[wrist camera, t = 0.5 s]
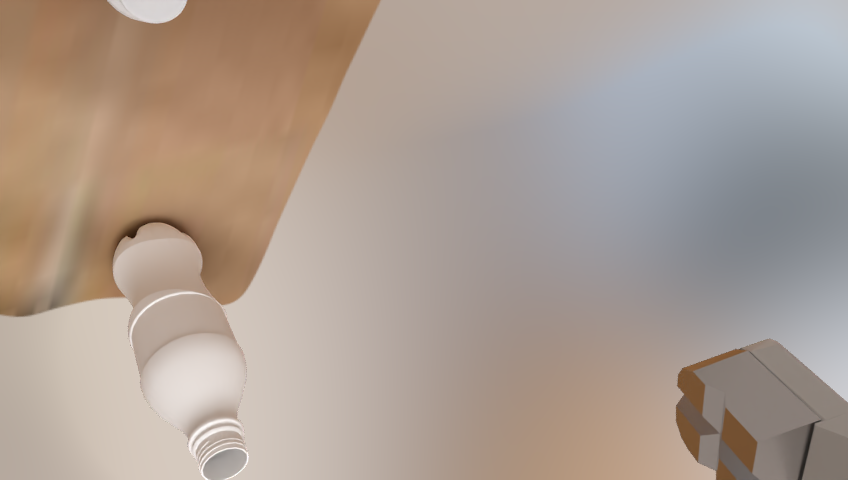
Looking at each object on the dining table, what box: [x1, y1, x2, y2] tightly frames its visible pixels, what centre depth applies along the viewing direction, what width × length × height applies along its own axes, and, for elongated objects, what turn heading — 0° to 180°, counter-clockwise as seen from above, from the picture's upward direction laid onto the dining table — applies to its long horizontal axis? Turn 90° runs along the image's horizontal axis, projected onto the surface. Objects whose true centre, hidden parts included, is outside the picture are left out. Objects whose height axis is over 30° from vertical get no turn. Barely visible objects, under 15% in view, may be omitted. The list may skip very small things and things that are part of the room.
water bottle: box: [113, 223, 249, 480], centre depth 50 cm, size 7×7×25 cm
